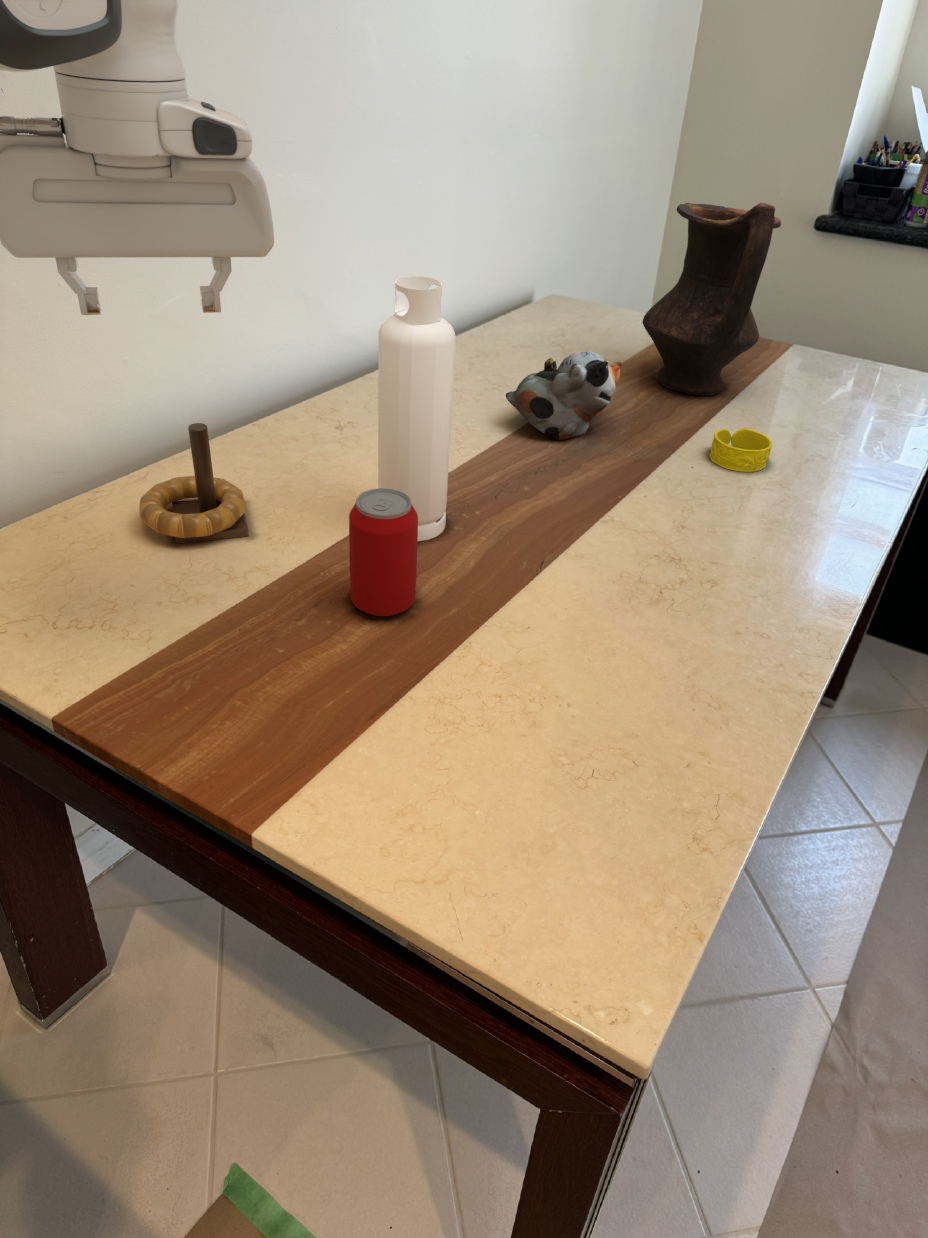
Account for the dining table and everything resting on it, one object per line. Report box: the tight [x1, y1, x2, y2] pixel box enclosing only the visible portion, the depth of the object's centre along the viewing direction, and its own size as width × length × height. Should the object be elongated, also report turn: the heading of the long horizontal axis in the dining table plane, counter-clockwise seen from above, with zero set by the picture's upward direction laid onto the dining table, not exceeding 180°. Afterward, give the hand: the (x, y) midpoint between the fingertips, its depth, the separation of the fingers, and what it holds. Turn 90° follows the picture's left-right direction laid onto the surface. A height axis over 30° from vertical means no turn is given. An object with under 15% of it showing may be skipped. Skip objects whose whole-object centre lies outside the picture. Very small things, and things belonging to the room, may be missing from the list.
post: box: [171, 422, 250, 544], centre depth 98 cm, size 8×8×12 cm
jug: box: [642, 202, 782, 396], centre depth 137 cm, size 21×18×30 cm
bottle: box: [377, 275, 457, 542], centre depth 96 cm, size 8×8×28 cm
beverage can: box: [348, 487, 419, 617], centre depth 88 cm, size 7×7×12 cm
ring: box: [139, 475, 246, 538], centre depth 100 cm, size 12×12×3 cm
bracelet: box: [709, 428, 773, 473], centre depth 123 cm, size 7×8×3 cm
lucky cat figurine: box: [505, 350, 623, 441], centre depth 126 cm, size 15×12×14 cm
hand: (152, 311), depth 72 cm, fingers open, 8 cm apart
